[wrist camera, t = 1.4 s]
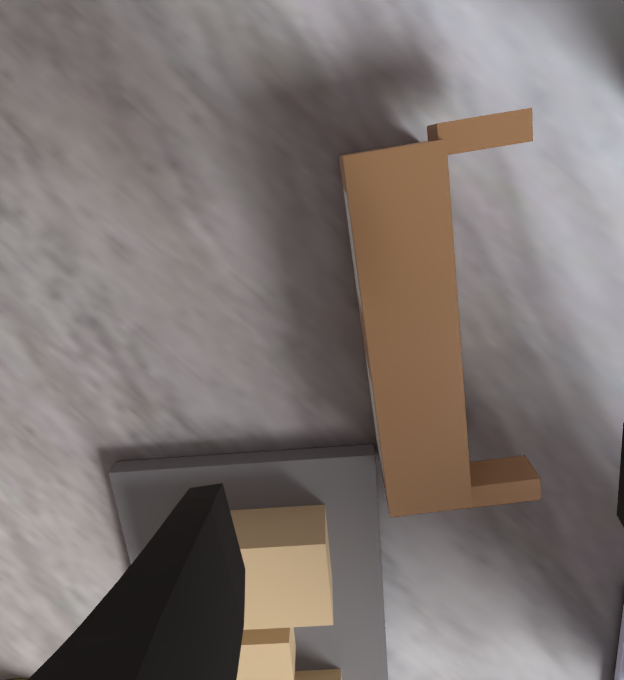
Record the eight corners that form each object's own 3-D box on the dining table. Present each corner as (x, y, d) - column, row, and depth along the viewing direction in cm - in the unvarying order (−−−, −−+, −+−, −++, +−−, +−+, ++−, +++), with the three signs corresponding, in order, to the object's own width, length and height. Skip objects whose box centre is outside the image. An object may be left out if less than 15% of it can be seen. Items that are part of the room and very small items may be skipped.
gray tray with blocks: (373, 444, 21) (381, 490, 18) (390, 739, 26) (398, 811, 23) (115, 461, 21) (83, 509, 18) (183, 748, 26) (166, 820, 23)
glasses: (491, 116, 17) (539, 106, 13) (506, 444, 21) (547, 509, 17) (336, 142, 17) (340, 139, 14) (378, 460, 21) (391, 527, 17)
